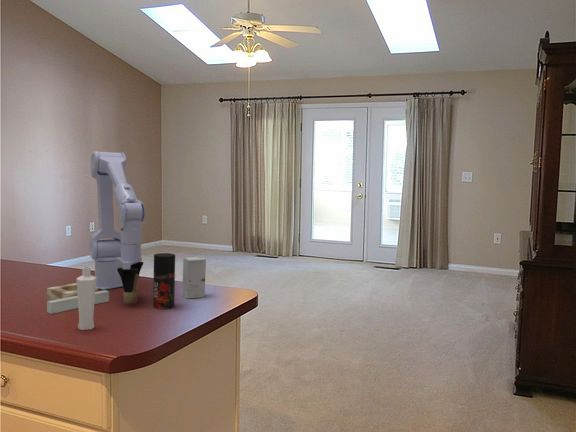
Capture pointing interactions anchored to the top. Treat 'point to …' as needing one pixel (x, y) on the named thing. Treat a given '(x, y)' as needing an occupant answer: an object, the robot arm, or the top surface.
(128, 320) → the top surface
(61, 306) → the backstop wall
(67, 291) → the socket block
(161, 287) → the deodorant
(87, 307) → the white pump bottle
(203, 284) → the skincare box
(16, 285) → the top surface
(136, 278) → the oak dowel
